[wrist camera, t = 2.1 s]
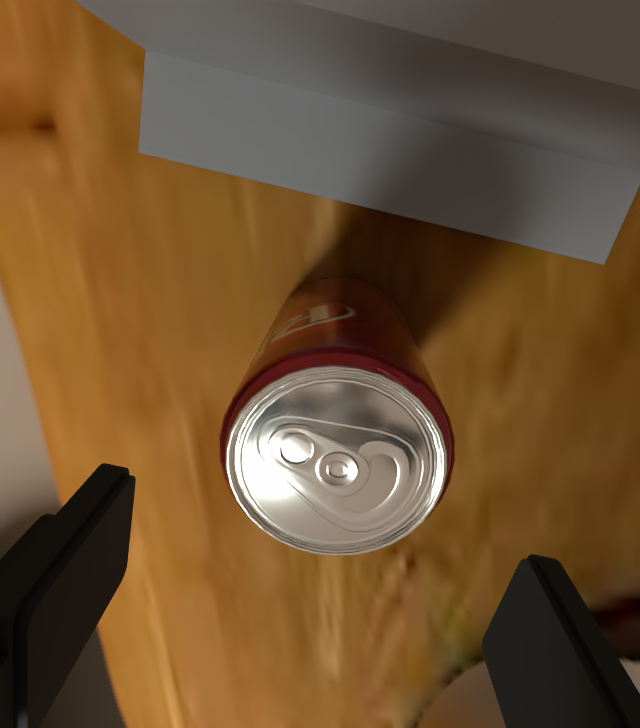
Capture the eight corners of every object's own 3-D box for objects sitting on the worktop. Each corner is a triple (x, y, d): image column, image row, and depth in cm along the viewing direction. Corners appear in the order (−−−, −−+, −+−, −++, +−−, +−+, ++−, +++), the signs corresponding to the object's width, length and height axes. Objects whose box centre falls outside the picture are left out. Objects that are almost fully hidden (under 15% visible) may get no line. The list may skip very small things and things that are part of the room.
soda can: (435, 324, 24) (514, 442, 13) (356, 425, 26) (365, 599, 15) (319, 246, 23) (295, 302, 12) (248, 359, 25) (171, 494, 14)
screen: (160, 3, 20) (-61, -218, 9) (649, 127, 20) (988, 61, 10) (148, 154, 22) (-42, 122, 11) (590, 260, 22) (814, 327, 12)
